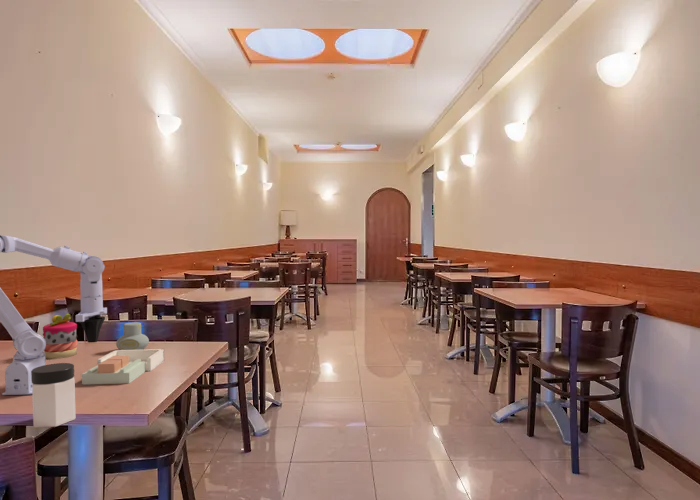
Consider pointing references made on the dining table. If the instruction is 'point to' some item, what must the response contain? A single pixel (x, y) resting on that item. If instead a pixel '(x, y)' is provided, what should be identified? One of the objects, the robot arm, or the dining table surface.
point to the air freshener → (132, 338)
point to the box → (139, 356)
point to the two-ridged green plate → (115, 374)
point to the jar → (53, 394)
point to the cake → (60, 338)
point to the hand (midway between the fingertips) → (92, 341)
